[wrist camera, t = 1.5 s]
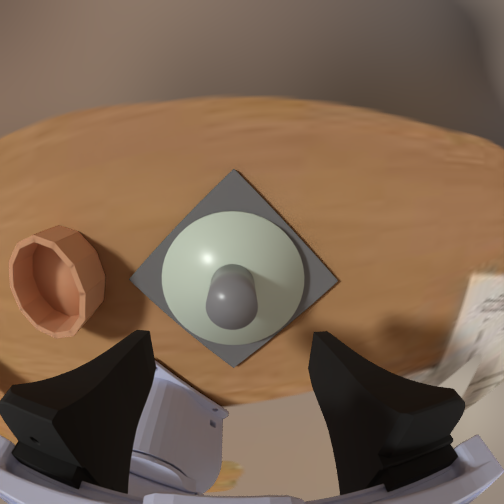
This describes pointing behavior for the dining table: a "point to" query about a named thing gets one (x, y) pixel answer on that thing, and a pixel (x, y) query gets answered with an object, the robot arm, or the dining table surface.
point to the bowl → (57, 280)
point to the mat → (233, 199)
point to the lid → (233, 278)
